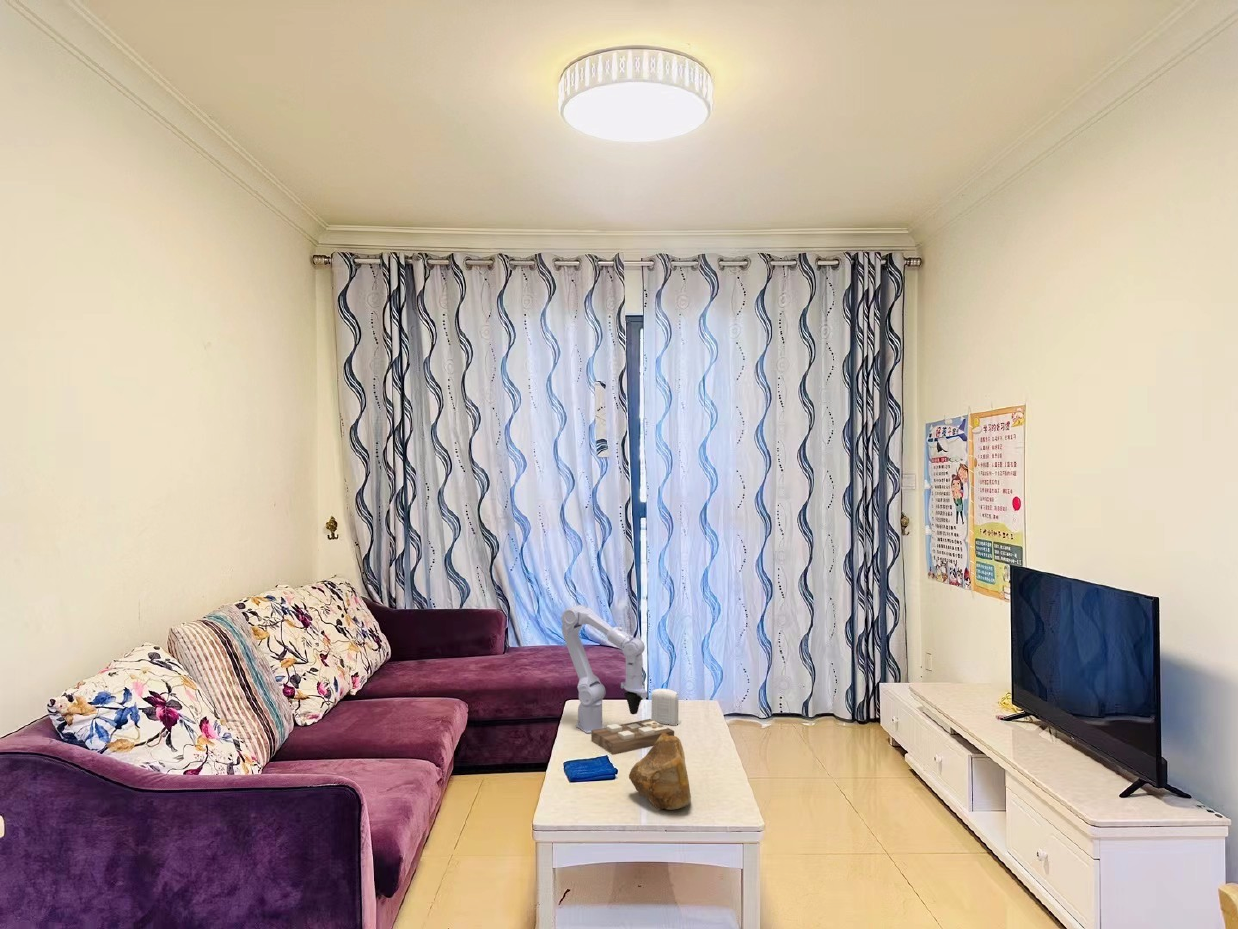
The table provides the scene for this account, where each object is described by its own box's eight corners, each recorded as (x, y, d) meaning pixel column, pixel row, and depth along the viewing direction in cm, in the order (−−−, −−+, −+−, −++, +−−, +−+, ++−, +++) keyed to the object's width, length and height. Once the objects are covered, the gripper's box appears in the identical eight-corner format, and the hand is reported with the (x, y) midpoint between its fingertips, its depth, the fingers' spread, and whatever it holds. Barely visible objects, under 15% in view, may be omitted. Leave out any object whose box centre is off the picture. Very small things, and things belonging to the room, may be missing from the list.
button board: (591, 740, 255) (591, 729, 255) (650, 728, 267) (650, 718, 267) (613, 754, 242) (613, 742, 242) (674, 741, 254) (674, 730, 255)
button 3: (626, 729, 261) (626, 725, 261) (635, 727, 263) (635, 723, 263) (632, 732, 257) (632, 728, 257) (642, 730, 259) (641, 726, 259)
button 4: (638, 732, 254) (638, 728, 254) (648, 730, 256) (648, 726, 256) (644, 736, 250) (644, 731, 250) (654, 733, 252) (654, 729, 252)
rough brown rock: (630, 782, 222) (625, 733, 222) (685, 777, 222) (681, 727, 222) (631, 821, 199) (626, 765, 198) (693, 815, 199) (688, 759, 198)
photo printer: (680, 723, 274) (680, 689, 274) (676, 726, 270) (676, 692, 270) (653, 719, 278) (653, 686, 278) (649, 723, 274) (649, 689, 274)
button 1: (606, 729, 257) (606, 725, 257) (616, 727, 259) (616, 723, 259) (612, 733, 253) (612, 729, 253) (622, 731, 255) (622, 727, 255)
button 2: (618, 736, 250) (617, 732, 250) (628, 734, 252) (628, 730, 252) (624, 740, 246) (624, 736, 246) (634, 738, 248) (634, 733, 248)
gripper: (654, 677, 256) (654, 717, 256) (632, 668, 269) (632, 706, 268) (637, 680, 252) (637, 720, 252) (615, 671, 265) (615, 709, 265)
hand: (633, 713), depth 260 cm, fingers closed
